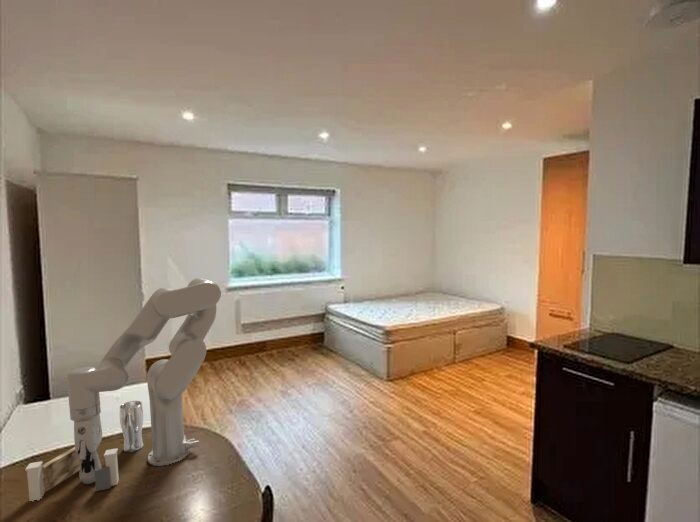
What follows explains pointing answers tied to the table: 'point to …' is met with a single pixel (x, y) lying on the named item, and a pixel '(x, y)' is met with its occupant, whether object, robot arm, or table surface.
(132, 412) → the beer glass
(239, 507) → the table surface
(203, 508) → the table surface
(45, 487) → the gate
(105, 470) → the gate posts
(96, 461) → the salt shaker
